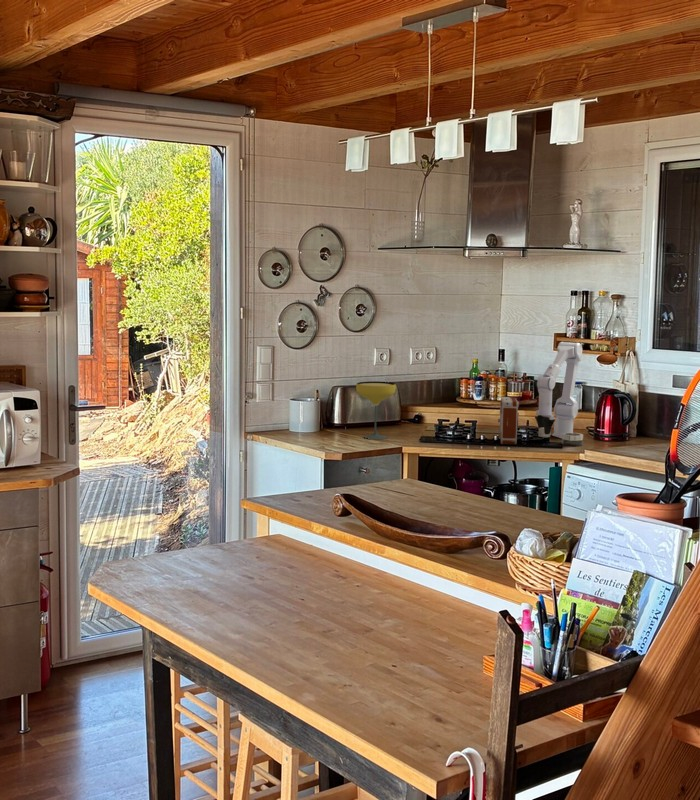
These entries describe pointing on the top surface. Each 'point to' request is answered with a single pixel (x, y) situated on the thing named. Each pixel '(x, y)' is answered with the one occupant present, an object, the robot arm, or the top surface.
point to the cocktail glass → (375, 397)
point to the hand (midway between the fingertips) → (544, 433)
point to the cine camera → (508, 420)
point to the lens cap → (542, 434)
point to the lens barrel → (572, 439)
